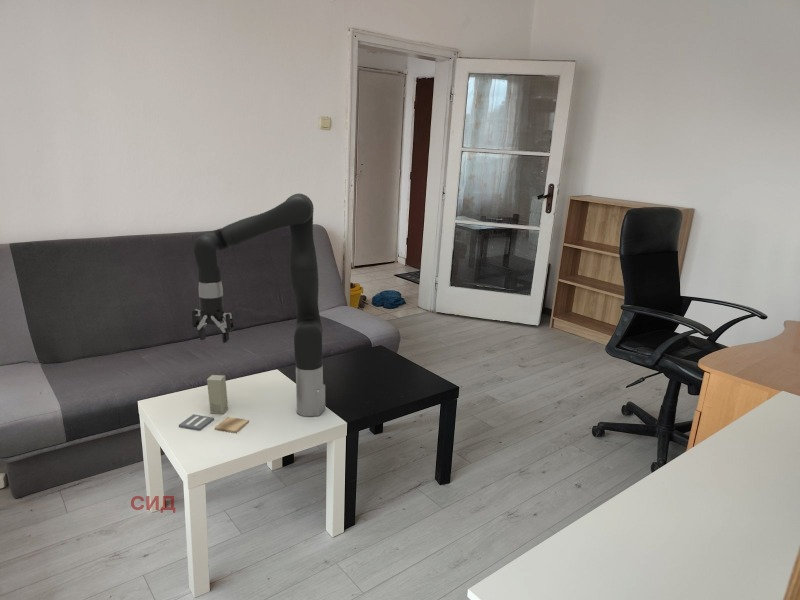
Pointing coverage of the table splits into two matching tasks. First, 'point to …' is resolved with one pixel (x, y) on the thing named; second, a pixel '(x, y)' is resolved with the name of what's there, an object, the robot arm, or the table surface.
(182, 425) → the pad slate
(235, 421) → the pad oak
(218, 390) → the box
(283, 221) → the robot arm
